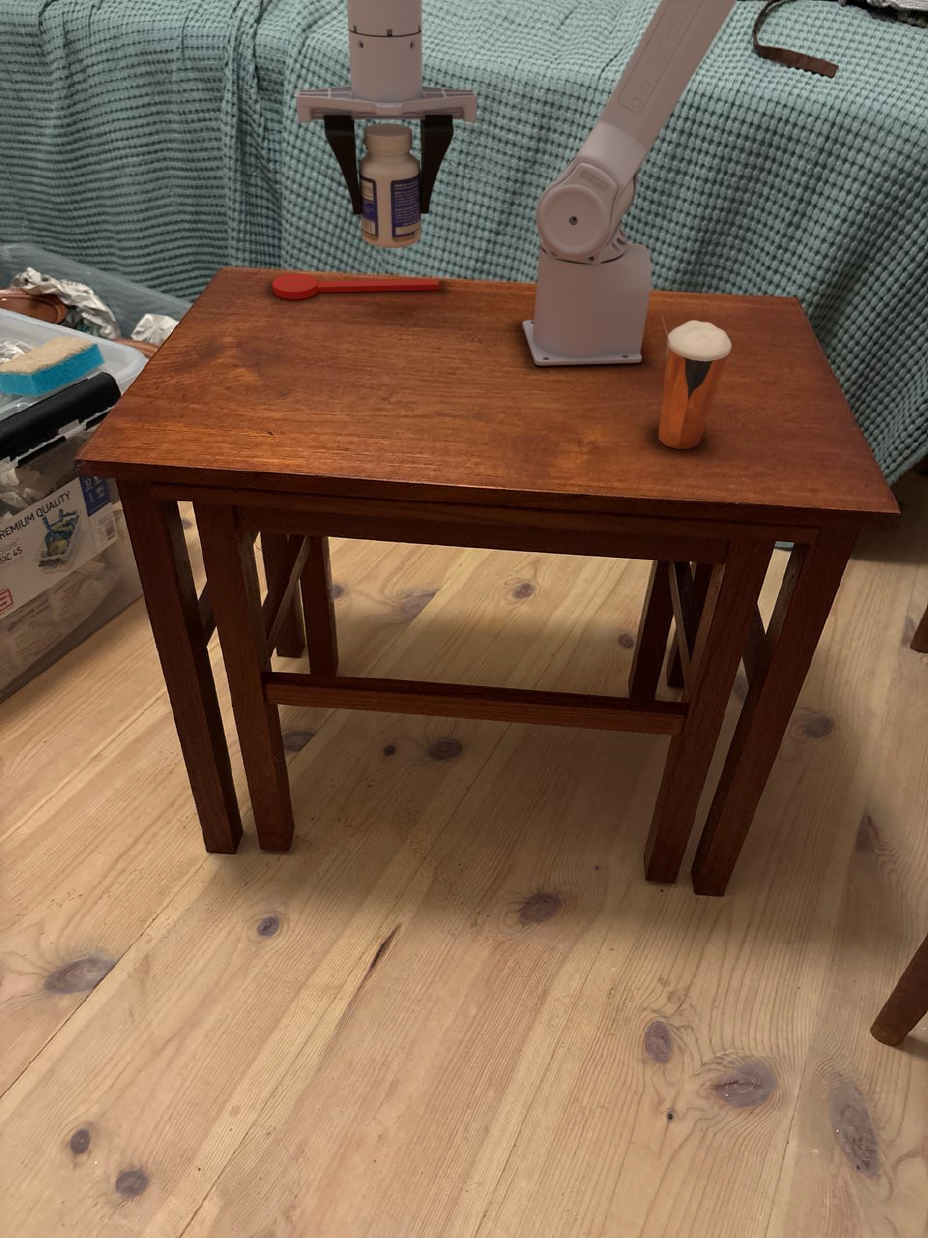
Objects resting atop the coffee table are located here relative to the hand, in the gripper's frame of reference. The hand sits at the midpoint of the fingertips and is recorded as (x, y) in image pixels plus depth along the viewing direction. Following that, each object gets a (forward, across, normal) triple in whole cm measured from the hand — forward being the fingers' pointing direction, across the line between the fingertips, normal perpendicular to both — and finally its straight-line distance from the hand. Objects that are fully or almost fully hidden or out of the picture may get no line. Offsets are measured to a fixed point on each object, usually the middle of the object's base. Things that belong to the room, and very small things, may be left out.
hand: (390, 210), depth 81 cm
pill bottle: (+3, 0, 0) cm, 3 cm away
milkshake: (+10, +21, -24) cm, 33 cm away
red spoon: (+9, -4, +6) cm, 12 cm away
